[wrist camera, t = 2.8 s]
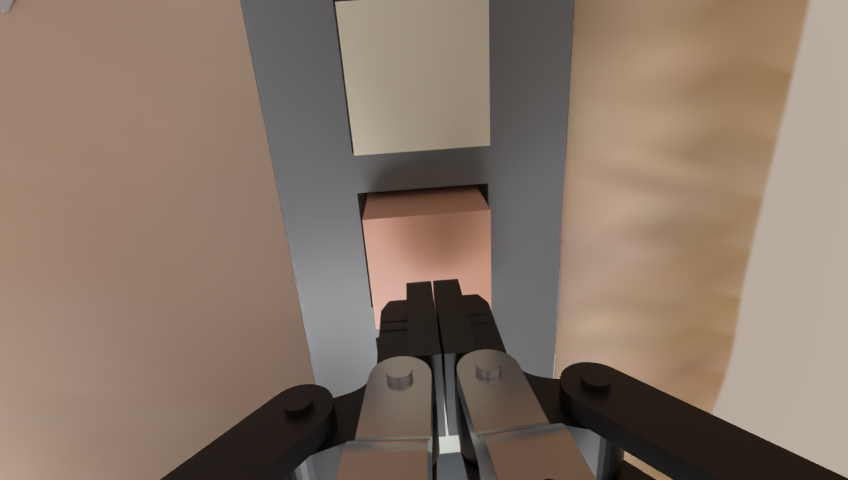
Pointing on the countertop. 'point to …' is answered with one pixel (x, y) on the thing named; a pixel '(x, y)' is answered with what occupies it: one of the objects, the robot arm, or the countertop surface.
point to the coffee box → (5, 5)
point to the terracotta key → (427, 241)
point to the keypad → (415, 176)
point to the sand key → (416, 73)
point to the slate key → (450, 466)
